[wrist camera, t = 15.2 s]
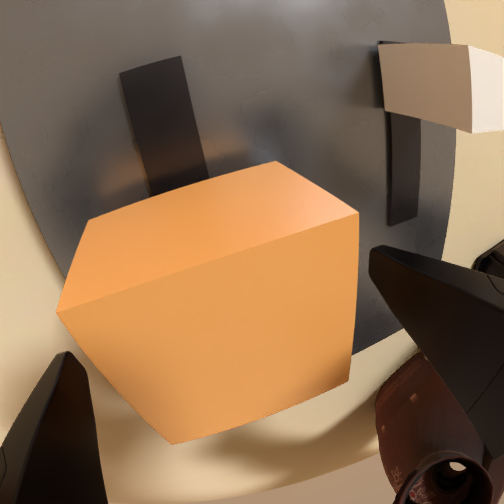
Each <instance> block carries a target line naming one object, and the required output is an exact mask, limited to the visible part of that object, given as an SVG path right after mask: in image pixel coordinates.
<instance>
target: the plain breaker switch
mask: <svg viewBox="0 0 504 504" xmlns="http://www.w3.org/2000/svg"><path fill="white" fill-rule="evenodd" d="M378 51H379V58H380V66H381V74H382V83H383V94H384V106H385V111H388V112H393V113H398V114H402V115H407V116H411V117H415V118H419V119H423V120H427V121H431V122H435V123H439V124H442V125H446V126H449V127H453V128H456V129H459V130H462V131H465V132H469V133H472V134H473V133H482V132H491V131H501V130H504V57H502V56H499V55H496V54H493V53H491V52H488V51H485V50H482V49H478V48H475V47H472V46H469V45H457V44H435V43H404V44H381V45H378Z"/></svg>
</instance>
